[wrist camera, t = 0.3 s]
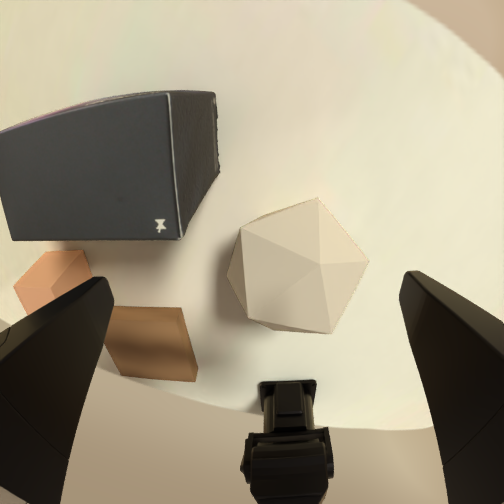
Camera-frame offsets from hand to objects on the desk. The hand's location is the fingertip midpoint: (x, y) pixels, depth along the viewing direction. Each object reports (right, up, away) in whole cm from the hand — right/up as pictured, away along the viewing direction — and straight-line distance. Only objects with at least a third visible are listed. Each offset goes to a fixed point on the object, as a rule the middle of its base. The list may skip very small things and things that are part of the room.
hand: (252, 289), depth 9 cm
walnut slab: (-11, -8, +22) cm, 26 cm away
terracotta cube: (-18, -1, +18) cm, 25 cm away
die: (+3, +2, +16) cm, 16 cm away
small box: (-8, +9, +12) cm, 17 cm away
